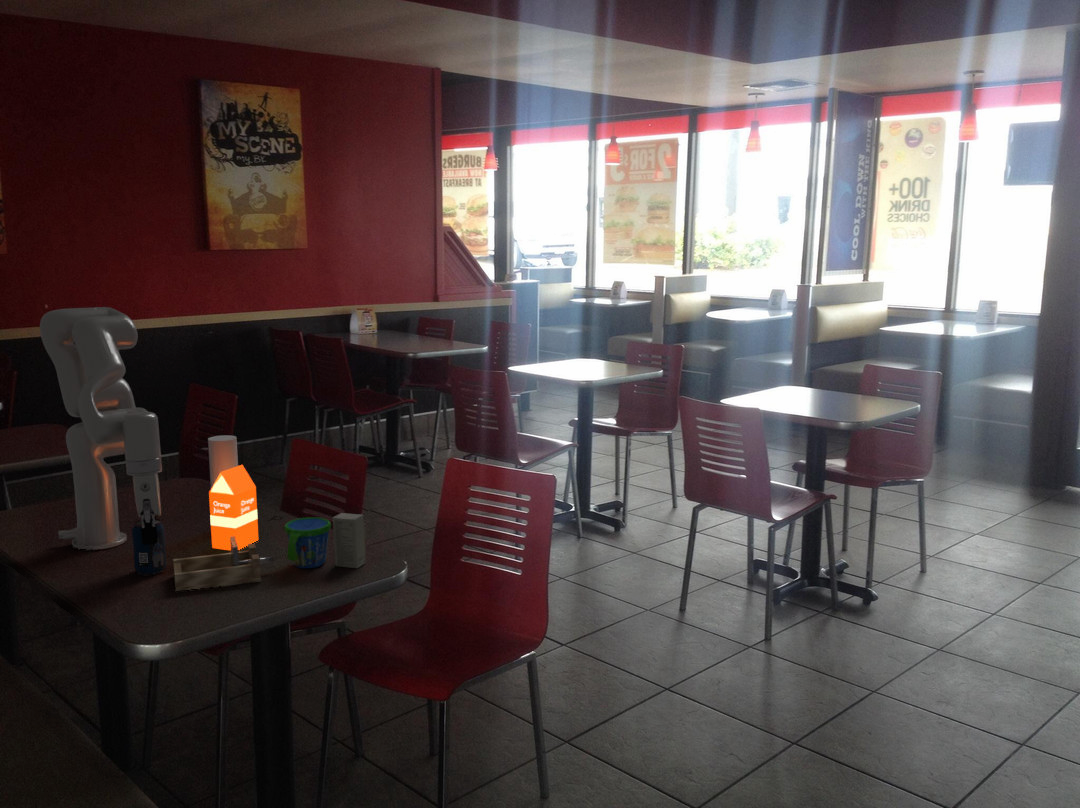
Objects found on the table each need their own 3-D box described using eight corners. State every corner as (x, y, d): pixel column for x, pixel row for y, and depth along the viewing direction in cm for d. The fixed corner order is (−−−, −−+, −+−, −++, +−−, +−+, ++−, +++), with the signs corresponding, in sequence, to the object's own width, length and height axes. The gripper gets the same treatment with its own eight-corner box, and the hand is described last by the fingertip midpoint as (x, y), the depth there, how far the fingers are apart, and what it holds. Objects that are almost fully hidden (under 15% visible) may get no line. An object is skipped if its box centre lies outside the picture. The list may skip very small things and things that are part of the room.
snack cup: (308, 578, 213) (306, 535, 211) (270, 571, 216) (268, 530, 215) (346, 557, 227) (345, 517, 225) (310, 551, 231) (308, 512, 229)
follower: (234, 577, 209) (233, 547, 208) (231, 565, 217) (230, 536, 216) (275, 571, 213) (274, 542, 211) (271, 560, 220) (270, 532, 219)
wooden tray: (175, 592, 203) (174, 568, 202) (174, 575, 214) (173, 552, 213) (260, 581, 210) (259, 558, 209) (255, 565, 220) (254, 543, 220)
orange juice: (211, 548, 233) (207, 470, 230) (234, 537, 241) (230, 463, 238) (237, 551, 231) (233, 473, 227) (259, 541, 239) (255, 465, 235)
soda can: (143, 565, 220) (139, 517, 218) (171, 566, 220) (168, 517, 218) (129, 576, 213) (125, 525, 211) (159, 576, 213) (155, 526, 211)
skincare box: (366, 563, 222) (365, 514, 220) (357, 569, 218) (355, 519, 216) (343, 560, 225) (341, 511, 222) (333, 566, 220) (332, 516, 218)
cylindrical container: (236, 533, 245) (231, 441, 240) (209, 533, 245) (203, 440, 241) (245, 525, 252) (240, 435, 247) (219, 525, 252) (213, 435, 248)
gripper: (162, 471, 206) (168, 546, 208) (161, 457, 221) (166, 526, 224) (125, 475, 203) (131, 550, 205) (127, 460, 219) (133, 530, 221)
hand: (150, 538), depth 215 cm, fingers open, 9 cm apart
